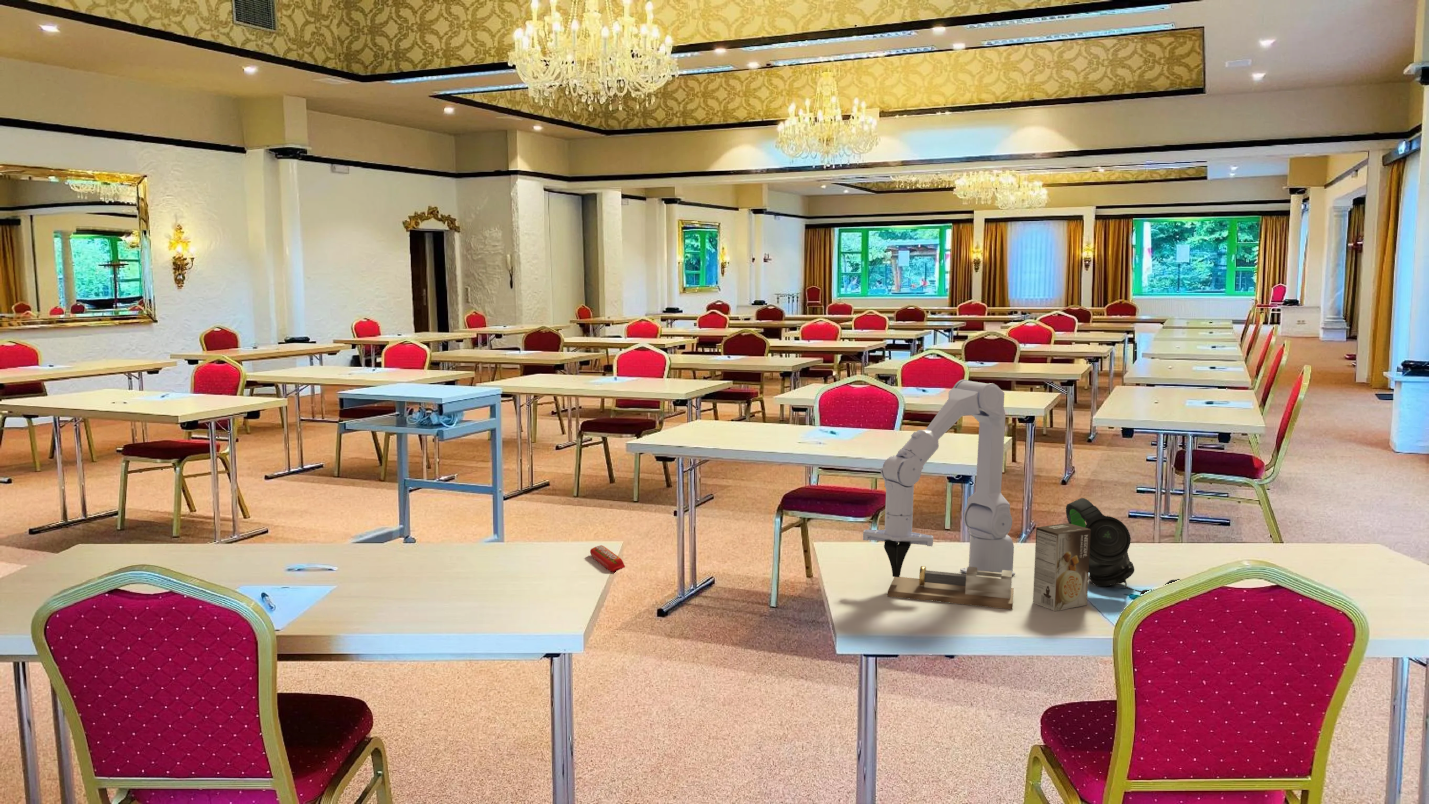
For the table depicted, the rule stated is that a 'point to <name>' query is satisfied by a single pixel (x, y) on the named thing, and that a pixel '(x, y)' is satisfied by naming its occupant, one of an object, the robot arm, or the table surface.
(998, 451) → the robot arm
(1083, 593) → the coffee box
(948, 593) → the board
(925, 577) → the shaft
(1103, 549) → the headset
